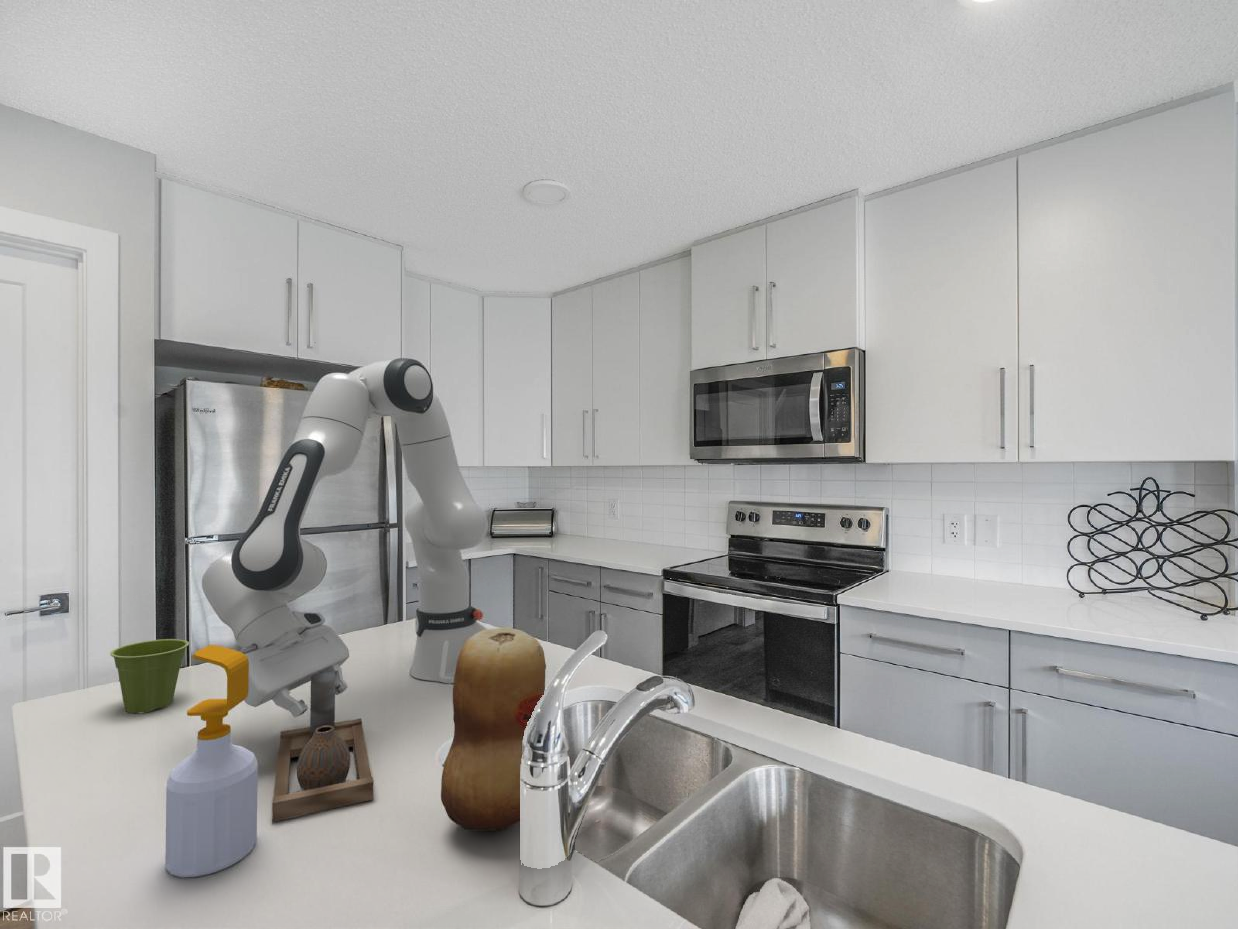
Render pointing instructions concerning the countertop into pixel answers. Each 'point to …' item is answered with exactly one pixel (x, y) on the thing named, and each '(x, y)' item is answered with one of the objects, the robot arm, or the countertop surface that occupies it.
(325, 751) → the vase
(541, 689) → the butternut squash
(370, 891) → the countertop surface
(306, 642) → the robot arm
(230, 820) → the soap bottle
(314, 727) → the strip frame
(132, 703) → the plant pot
